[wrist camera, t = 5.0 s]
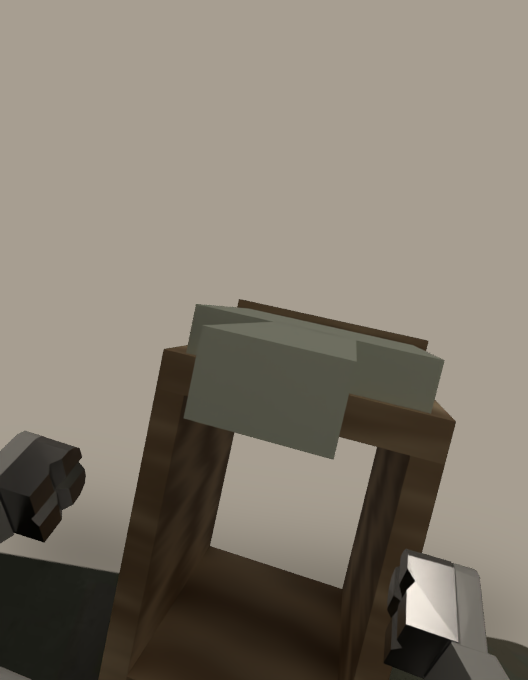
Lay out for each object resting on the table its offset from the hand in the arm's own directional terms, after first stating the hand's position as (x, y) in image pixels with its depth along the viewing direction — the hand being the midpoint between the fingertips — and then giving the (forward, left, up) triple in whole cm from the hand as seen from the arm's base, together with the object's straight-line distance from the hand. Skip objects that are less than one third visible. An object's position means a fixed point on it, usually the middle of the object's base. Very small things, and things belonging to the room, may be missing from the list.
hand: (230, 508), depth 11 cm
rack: (-13, +13, -24) cm, 30 cm away
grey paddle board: (-8, +8, +2) cm, 12 cm away
